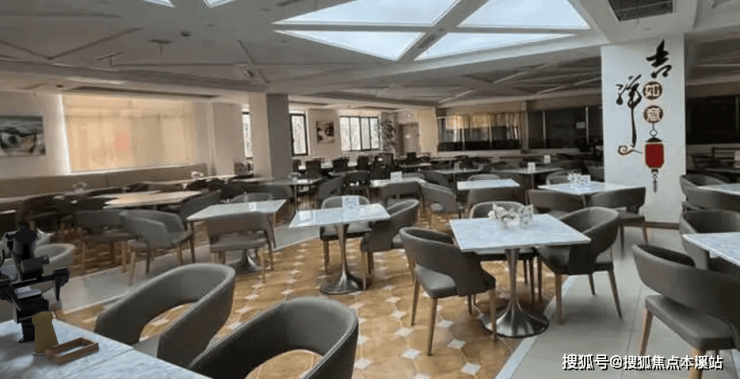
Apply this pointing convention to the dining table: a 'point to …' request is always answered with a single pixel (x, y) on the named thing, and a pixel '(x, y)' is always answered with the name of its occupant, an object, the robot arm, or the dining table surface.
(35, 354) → the grey round disc
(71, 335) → the dining table surface
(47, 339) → the cork
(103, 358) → the dining table surface
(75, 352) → the frame
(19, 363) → the dining table surface
